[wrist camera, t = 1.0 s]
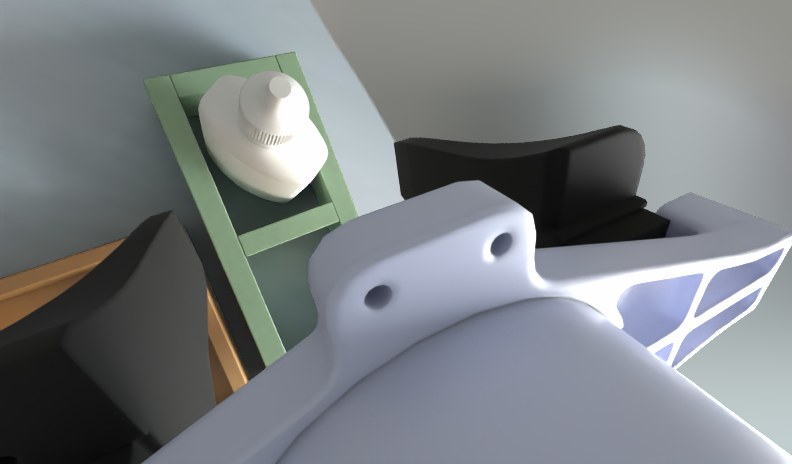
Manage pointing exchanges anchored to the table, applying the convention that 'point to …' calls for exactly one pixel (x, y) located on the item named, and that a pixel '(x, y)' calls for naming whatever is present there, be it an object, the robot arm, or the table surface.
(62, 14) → the table surface
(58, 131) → the table surface
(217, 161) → the eye dropper bottle
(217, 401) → the open wooden box
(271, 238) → the green divided tray
